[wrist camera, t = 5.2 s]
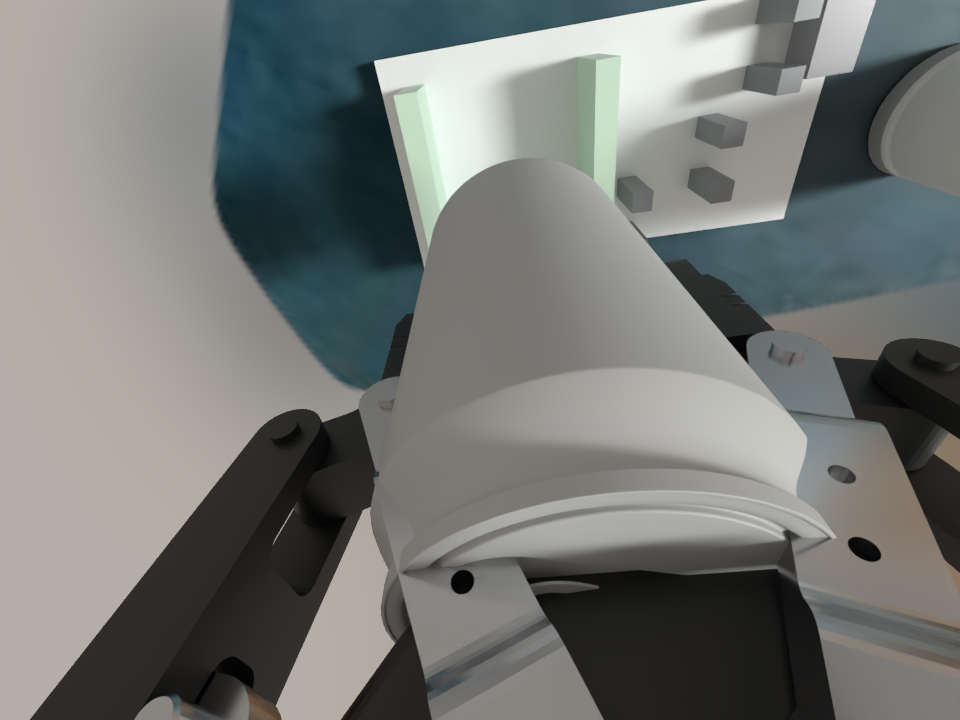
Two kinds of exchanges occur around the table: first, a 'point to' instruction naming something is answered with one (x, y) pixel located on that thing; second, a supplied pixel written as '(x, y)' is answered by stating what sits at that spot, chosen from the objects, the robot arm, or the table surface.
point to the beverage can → (576, 403)
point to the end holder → (593, 133)
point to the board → (645, 104)
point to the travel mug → (922, 125)
